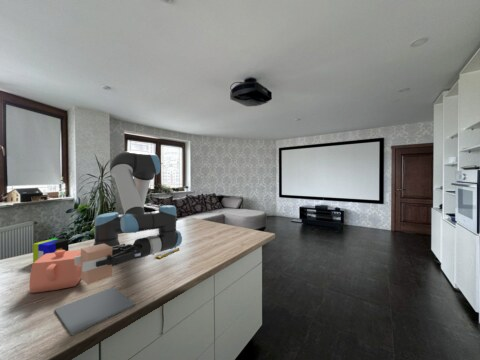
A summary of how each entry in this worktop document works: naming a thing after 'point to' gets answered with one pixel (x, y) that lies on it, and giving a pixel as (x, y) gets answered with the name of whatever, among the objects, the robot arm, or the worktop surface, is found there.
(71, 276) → the teapot
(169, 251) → the candy bar
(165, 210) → the robot arm
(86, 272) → the block
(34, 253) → the puzzle toy
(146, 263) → the worktop surface
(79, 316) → the mat
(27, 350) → the worktop surface
